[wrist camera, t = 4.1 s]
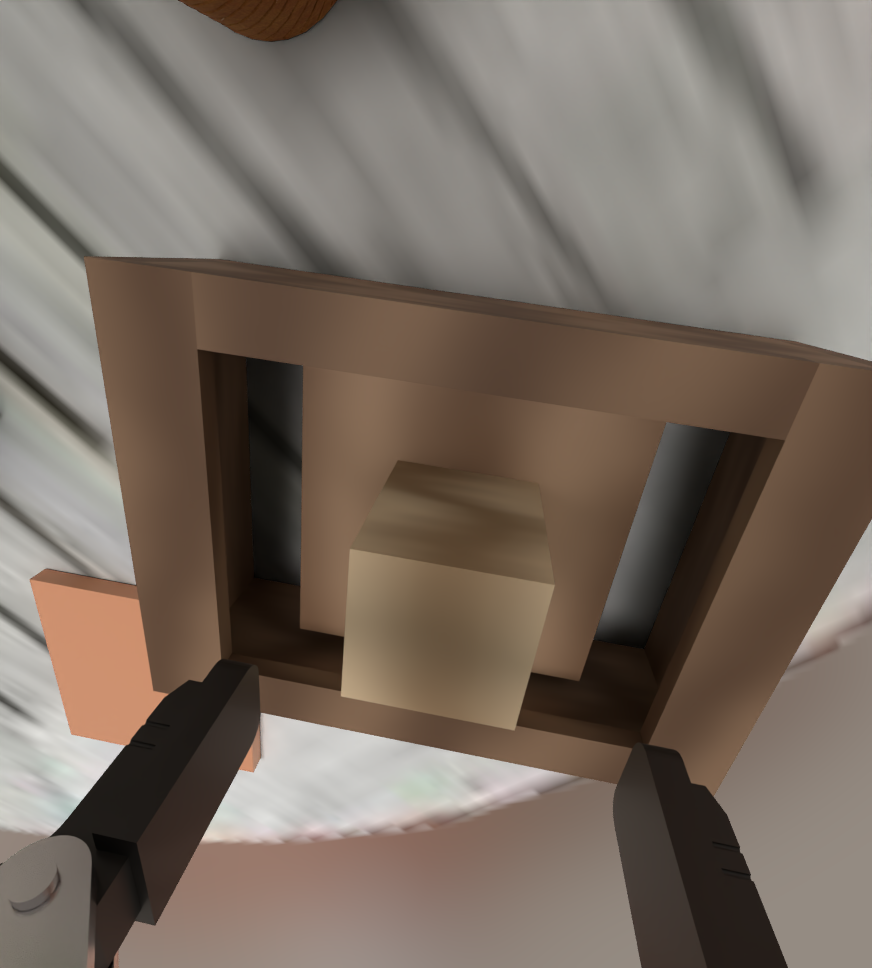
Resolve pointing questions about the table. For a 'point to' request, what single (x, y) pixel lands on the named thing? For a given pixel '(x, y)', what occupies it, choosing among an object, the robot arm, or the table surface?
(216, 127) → the table surface
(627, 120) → the table surface
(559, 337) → the slotted box
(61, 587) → the terracotta tile
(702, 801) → the robot arm
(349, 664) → the maple block
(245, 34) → the disposable coffee cup
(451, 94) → the table surface
